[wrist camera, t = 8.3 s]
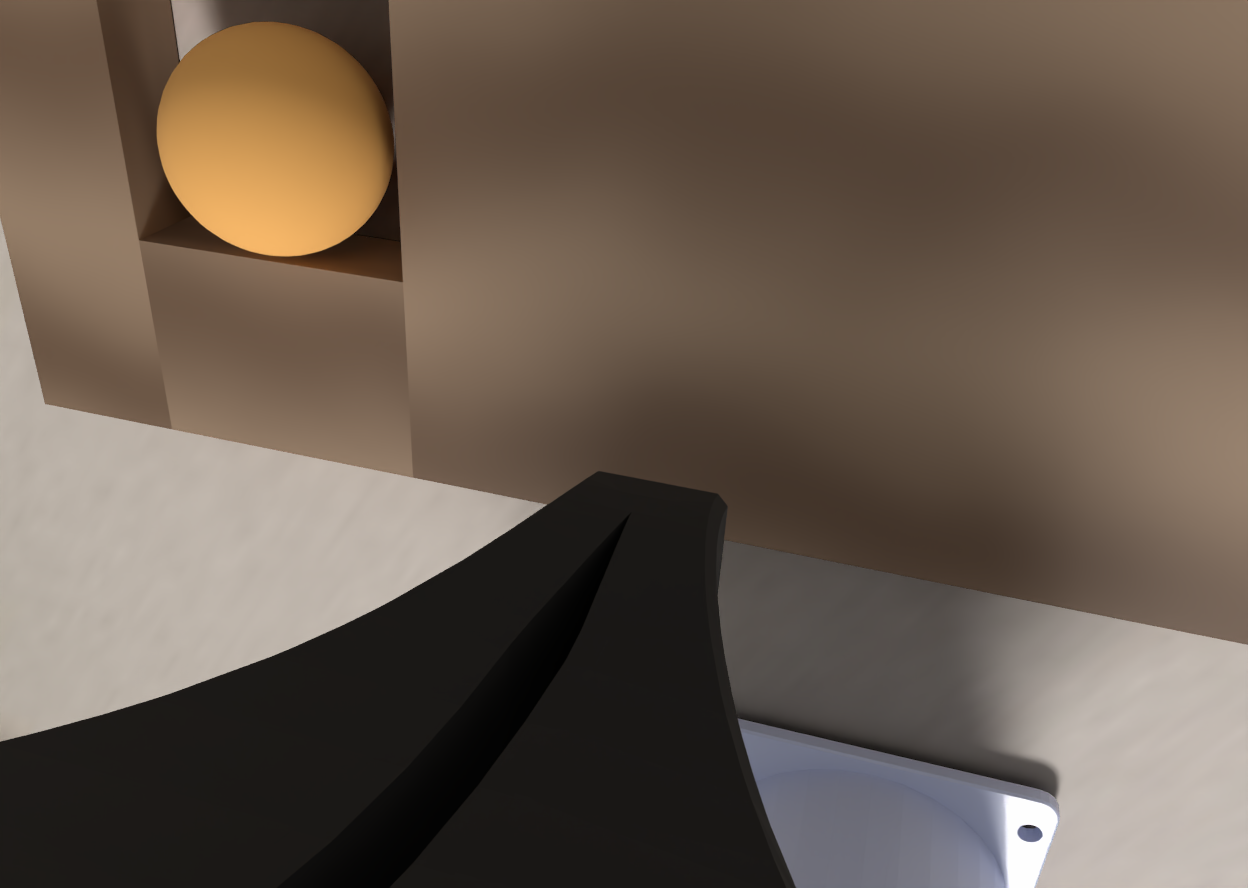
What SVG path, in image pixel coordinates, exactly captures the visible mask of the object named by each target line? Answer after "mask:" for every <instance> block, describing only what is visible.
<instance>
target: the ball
mask: <svg viewBox="0 0 1248 888" xmlns="http://www.w3.org/2000/svg"><path fill="white" fill-rule="evenodd" d="M157 144H158V149H159V154H160V159H161V163H162V166H163V169H164V172H165V175H166V177H167V179H168V181H169V183H170V185H171V187H172V189H173V191H174V193H175V194H176V196H177V197H178V199H179V200H180V202H181V203H182V204H183V206H184V207H185V208H186V209H187V210H188V211H189V213H190V214H191V215H192V216H193V217H194V218H195V219H196V220H197V221H198V222H199V223H200V224H201V225H203V226H204V227H205V228H206V229H207V230H209V231H210V232H212V233H213V234H215V235H216V236H218V237H219V238H221V239H222V240H224V241H226V242H228V243H230V244H232V245H235V246H237V247H239V248H242V249H245V250H247V251H251V252H255V253H259V254H264V255H271V256H301V255H306V254H310V253H314V252H319V251H322V250H324V249H327V248H329V247H332V246H334V245H336V244H338V243H340V242H342V241H343V240H345V239H346V238H348V237H349V236H351V235H352V234H353V233H355V232H356V231H357V230H358V229H359V228H360V227H362V226H363V225H364V224H365V223H366V221H367V220H368V219H369V218H370V217H371V215H372V214H373V213H374V211H375V210H376V209H377V207H378V205H379V204H380V202H381V200H382V198H383V196H384V194H385V192H386V189H387V187H388V184H389V180H390V177H391V173H392V168H393V159H394V136H393V129H392V124H391V120H390V116H389V113H388V110H387V107H386V105H385V102H384V100H383V98H382V96H381V94H380V92H379V90H378V88H377V86H376V85H375V83H374V81H373V80H372V78H371V77H370V75H369V74H368V73H367V71H366V70H365V69H364V68H363V67H362V65H361V64H360V63H359V62H358V61H357V60H356V59H355V58H354V57H352V56H351V55H350V54H349V53H348V52H347V51H346V50H344V49H343V48H342V47H340V46H339V45H338V44H336V43H335V42H333V41H331V40H330V39H328V38H326V37H324V36H322V35H320V34H319V33H316V32H314V31H311V30H309V29H306V28H303V27H300V26H296V25H292V24H287V23H280V22H251V23H246V24H241V25H236V26H231V27H229V28H226V29H224V30H221V31H219V32H217V33H215V34H213V35H211V36H209V37H208V38H206V39H204V40H203V41H201V42H200V43H199V44H197V45H196V46H195V47H194V48H193V49H192V50H190V51H189V52H188V53H187V54H186V55H185V56H184V57H183V59H182V60H181V61H180V63H179V64H178V65H177V67H176V68H175V69H174V71H173V72H172V74H171V76H170V78H169V80H168V82H167V84H166V86H165V88H164V90H163V93H162V97H161V101H160V105H159V108H158V115H157Z"/></svg>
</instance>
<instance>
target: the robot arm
mask: <svg viewBox="0 0 1248 888" xmlns="http://www.w3.org/2000/svg"><path fill="white" fill-rule="evenodd" d="M727 510H728V506H727V504H726V503H725V502H724V501H723V499H722V498H721V497H720V495H719V494H718V493H712V492H707V491H702V490H697V489H691V488H686V487H681V486H676V485H670V484H665V483H660V482H655V481H649V480H644V479H639V478H634V477H628V476H623V475H618V474H613V473H608V472H602V471H597V472H596V473H594V474H593V475H591V476H590V477H588V478H586V479H585V480H583V481H582V482H580V483H579V484H577V485H576V486H574V487H573V488H571V489H570V490H568V491H567V492H565V493H564V494H562V495H561V496H559V497H558V498H557V499H555V500H554V501H552V502H551V503H549V504H548V505H546V506H545V507H543V508H542V509H540V510H539V511H537V512H536V513H534V514H533V515H532V516H530V517H529V518H527V519H526V520H524V521H523V522H521V523H520V524H518V525H517V526H515V527H514V528H512V529H511V530H509V531H508V532H506V533H505V534H503V535H501V536H500V537H498V538H497V539H495V540H494V541H492V542H491V543H489V544H487V545H486V546H484V547H483V548H481V549H480V550H478V551H476V552H475V553H473V554H472V555H470V556H469V557H467V558H466V559H464V560H462V561H461V562H459V563H457V564H455V565H454V566H452V567H450V568H448V569H446V570H445V571H443V572H441V573H439V574H438V575H436V576H434V577H432V578H431V579H429V580H427V581H425V582H424V583H422V584H420V585H418V586H417V587H415V588H413V589H411V590H410V591H408V592H406V593H404V594H403V595H401V596H399V597H397V598H396V599H394V600H392V601H390V602H389V603H387V604H385V605H383V606H381V607H379V608H377V609H375V610H373V611H371V612H369V613H367V614H365V615H363V616H361V617H359V618H357V619H355V620H353V621H351V622H349V623H347V624H345V625H343V626H340V627H338V628H336V629H334V630H331V631H329V632H327V633H325V634H322V635H320V636H318V637H316V638H314V639H311V640H309V641H307V642H305V643H302V644H300V645H298V646H296V647H293V648H291V649H289V650H286V651H284V652H281V653H279V654H277V655H274V656H272V657H269V658H267V659H264V660H261V661H258V662H256V663H253V664H250V665H247V666H245V667H242V668H239V669H237V670H234V671H231V672H228V673H226V674H223V675H220V676H217V677H215V678H212V679H209V680H207V681H204V682H201V683H198V684H196V685H193V686H190V687H188V688H185V689H182V690H179V691H177V692H174V693H171V694H168V695H165V696H162V697H159V698H156V699H153V700H149V701H146V702H143V703H139V704H136V705H133V706H130V707H126V708H123V709H120V710H117V711H113V712H110V713H107V714H103V715H100V716H96V717H93V718H89V719H85V720H82V721H78V722H74V723H71V724H67V725H63V726H60V727H56V728H52V729H49V730H45V731H41V732H38V733H34V734H30V735H26V736H22V737H18V738H14V739H10V740H5V741H1V742H0V888H1035V887H1036V884H1037V882H1038V879H1039V876H1040V873H1041V871H1042V868H1043V865H1044V862H1045V860H1046V857H1047V854H1048V851H1049V849H1050V846H1051V843H1052V840H1053V838H1054V835H1055V832H1056V829H1057V827H1058V824H1059V818H1060V813H1059V804H1058V802H1057V800H1056V799H1055V798H1054V797H1053V796H1052V795H1051V794H1050V793H1048V792H1045V791H1043V790H1040V789H1036V788H1032V787H1027V786H1023V785H1019V784H1015V783H1010V782H1006V781H1002V780H998V779H993V778H989V777H985V776H981V775H976V774H972V773H968V772H964V771H959V770H955V769H951V768H947V767H942V766H938V765H934V764H930V763H925V762H921V761H917V760H913V759H908V758H904V757H900V756H896V755H891V754H887V753H883V752H879V751H874V750H870V749H866V748H862V747H857V746H853V745H849V744H845V743H840V742H836V741H832V740H828V739H823V738H819V737H815V736H811V735H806V734H802V733H798V732H794V731H789V730H785V729H781V728H777V727H772V726H768V725H764V724H760V723H755V722H751V721H747V720H743V719H738V718H737V714H736V710H735V705H734V701H733V697H732V692H731V687H730V682H729V677H728V671H727V666H726V661H725V656H724V649H723V642H722V636H721V627H720V617H719V607H718V597H717V594H718V586H719V577H720V569H721V560H722V552H723V544H724V535H725V527H726V518H727ZM1023 825H1034V826H1036V828H1033V829H1032V828H1025V827H1022V826H1023Z"/></svg>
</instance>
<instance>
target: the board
mask: <svg viewBox="0 0 1248 888" xmlns="http://www.w3.org/2000/svg"><path fill="white" fill-rule="evenodd" d="M388 1H389V20H390V39H391V59H392V78H393V98H394V117H395V136H396V156H397V175H398V195H399V214H400V233H401V242H400V241H393V240H387V239H380V238H373V237H367V236H360V235H353V234H352V235H351V236H349V237H348V238H346V239H345V240H343V241H342V242H340V243H338V244H336V245H334V246H332V247H329V248H327V249H324V250H322V251H319V252H314V253H310V254H306V255H301V256H271V255H264V254H259V253H255V252H251V251H247V250H245V249H242V248H239V247H237V246H235V245H232V244H230V243H228V242H226V241H224V240H222V239H221V238H219V237H218V236H216V235H215V234H213V233H212V232H210V231H209V230H207V229H206V228H205V227H204V226H203V225H201V224H200V223H199V222H198V221H197V220H196V219H195V218H194V217H193V216H192V215H191V214H190V213H189V211H188V210H187V209H186V208H185V207H184V206H183V204H182V203H181V202H180V200H179V199H178V197H177V196H176V194H175V193H174V191H173V189H172V187H171V185H170V183H169V181H168V179H167V177H166V175H165V172H164V169H163V166H162V163H161V159H160V154H159V149H158V144H157V115H158V108H159V105H160V101H161V97H162V93H163V90H164V88H165V86H166V84H167V82H168V80H169V78H170V76H171V74H172V72H173V71H174V69H175V68H176V67H177V65H178V64H179V59H178V52H177V45H176V38H175V31H174V24H173V17H172V11H171V4H170V0H0V218H1V222H2V226H3V230H4V234H5V238H6V243H7V247H8V251H9V255H10V259H11V263H12V268H13V272H14V276H15V280H16V284H17V288H18V293H19V297H20V301H21V305H22V309H23V313H24V318H25V322H26V326H27V330H28V334H29V338H30V343H31V347H32V351H33V355H34V359H35V363H36V368H37V372H38V376H39V380H40V384H41V388H42V393H43V397H44V401H45V404H49V405H54V406H59V407H64V408H69V409H74V410H79V411H84V412H89V413H94V414H99V415H104V416H109V417H114V418H119V419H124V420H129V421H134V422H139V423H144V424H149V425H154V426H159V427H164V428H169V429H174V430H179V431H184V432H189V433H194V434H199V435H204V436H209V437H214V438H219V439H224V440H229V441H234V442H239V443H244V444H249V445H254V446H259V447H264V448H268V449H273V450H278V451H283V452H288V453H293V454H298V455H303V456H308V457H313V458H318V459H323V460H328V461H333V462H338V463H343V464H348V465H353V466H358V467H363V468H368V469H373V470H378V471H383V472H388V473H393V474H398V475H403V476H408V477H413V478H418V479H423V480H428V481H433V482H438V483H443V484H448V485H453V486H458V487H463V488H468V489H473V490H478V491H483V492H488V493H493V494H498V495H503V496H508V497H513V498H518V499H523V500H528V501H533V502H538V503H543V504H549V503H551V502H552V501H554V500H555V499H557V498H558V497H559V496H561V495H562V494H564V493H565V492H567V491H568V490H570V489H571V488H573V487H574V486H576V485H577V484H579V483H580V482H582V481H583V480H585V479H586V478H588V477H590V476H591V475H593V474H594V473H596V472H597V471H602V472H608V473H613V474H618V475H623V476H628V477H634V478H639V479H644V480H649V481H655V482H660V483H665V484H670V485H676V486H681V487H686V488H691V489H697V490H702V491H707V492H712V493H718V494H719V495H720V497H721V498H722V499H723V501H724V502H725V503H726V504H727V506H728V510H727V518H726V527H725V535H724V540H728V541H733V542H738V543H743V544H748V545H753V546H758V547H763V548H768V549H773V550H778V551H783V552H788V553H793V554H798V555H803V556H808V557H813V558H818V559H823V560H828V561H833V562H838V563H843V564H848V565H853V566H858V567H863V568H868V569H873V570H878V571H883V572H888V573H893V574H898V575H903V576H908V577H913V578H918V579H923V580H928V581H932V582H937V583H942V584H947V585H952V586H957V587H962V588H967V589H972V590H977V591H982V592H987V593H992V594H997V595H1002V596H1007V597H1012V598H1017V599H1022V600H1027V601H1032V602H1037V603H1042V604H1047V605H1052V606H1057V607H1062V608H1067V609H1072V610H1077V611H1082V612H1087V613H1092V614H1097V615H1102V616H1107V617H1112V618H1117V619H1122V620H1127V621H1132V622H1137V623H1142V624H1147V625H1152V626H1157V627H1162V628H1167V629H1172V630H1177V631H1182V632H1187V633H1192V634H1197V635H1202V636H1207V637H1212V638H1217V639H1222V640H1227V641H1232V642H1237V643H1242V644H1247V645H1248V0H388Z"/></svg>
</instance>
